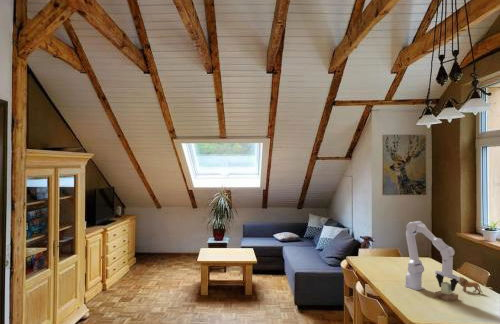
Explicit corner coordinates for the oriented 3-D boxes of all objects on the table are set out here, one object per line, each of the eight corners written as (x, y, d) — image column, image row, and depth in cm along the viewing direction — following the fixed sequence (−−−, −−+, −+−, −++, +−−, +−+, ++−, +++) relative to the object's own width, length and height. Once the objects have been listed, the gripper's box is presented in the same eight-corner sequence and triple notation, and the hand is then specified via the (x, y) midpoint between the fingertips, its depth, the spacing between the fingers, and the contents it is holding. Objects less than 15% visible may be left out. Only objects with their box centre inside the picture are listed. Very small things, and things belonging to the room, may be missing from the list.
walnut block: (435, 297, 231) (435, 291, 231) (444, 295, 235) (444, 289, 235) (448, 302, 223) (448, 296, 223) (458, 300, 227) (458, 294, 227)
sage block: (441, 292, 230) (441, 282, 230) (445, 291, 232) (445, 281, 232) (447, 294, 226) (447, 285, 226) (452, 293, 228) (452, 284, 228)
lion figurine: (457, 291, 242) (457, 277, 241) (456, 288, 246) (456, 275, 246) (483, 294, 236) (484, 280, 236) (482, 292, 241) (482, 278, 241)
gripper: (462, 269, 225) (462, 291, 225) (440, 263, 237) (439, 284, 237) (455, 270, 221) (455, 293, 221) (433, 264, 234) (432, 286, 234)
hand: (446, 288), depth 229 cm, fingers open, 7 cm apart
